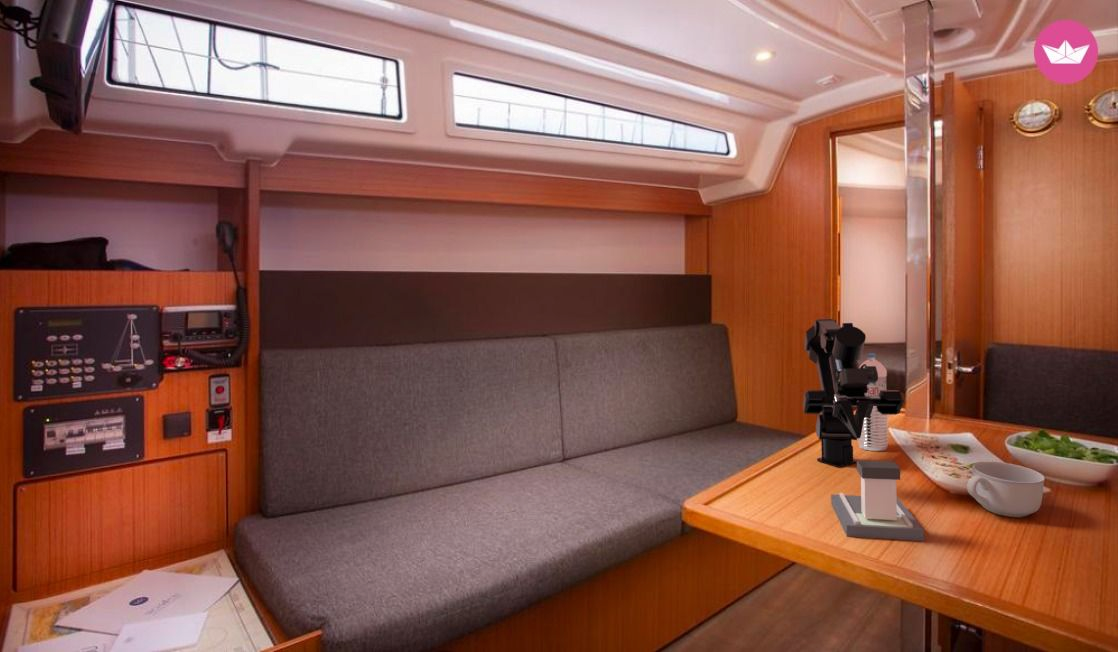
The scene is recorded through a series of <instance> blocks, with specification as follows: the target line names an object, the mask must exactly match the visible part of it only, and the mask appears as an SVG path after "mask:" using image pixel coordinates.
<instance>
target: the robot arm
mask: <svg viewBox="0 0 1118 652" xmlns="http://www.w3.org/2000/svg"><path fill="white" fill-rule="evenodd" d="M866 338H867V337H866V333H865V332H864V331H863V330H862V329H861V328H858V327H856V326H854V324H853V322H842V324H841V325H840V324H838V323H837V319H833V318H818V319H815V320H814V323H813V325H812V326H811V327H809V329H807V330H806V331H805V335H804V341H803V342H804V345H803V346H804V351H806V352H807V357H808V359H809V360H810V361H811V362H813V363H814V364H815V365H816V369H817V370H816V371H817V373H818V374H817V375H818V379H819V385H820V389H819V390H818V389H814V390H813V389H806V391H805V392H804V395H803V400H802V401H803V402H802V409H803V413H805V414H807V415H817V419H816V423H815V433H816V437H817V438H818V439H819V440H820V442H821V445H820V446H821V457H818V458H817V459H816V460H817V461H818V462H820V463H824V464H826V465H830V466H832V467H833V466H834V467H837V468H842V467H844V466H848V465H853V464H857V460H856V459H854V446H853V445H852V444H853V443H852V441H858V438H860V437H861V433H862V427H863V422H864V418H865V417H870V415H871V412H872V409H873V406H877V411H878V412H879V413H881V414H882V415H887V416H888V415H893V416H894V415H898V414H900V413H901V410H902V408H903V404H904V402H905V397H904V394H903V392H901V391H900V390H898V389H886V390H880V393H879V396H865V393H867V392H868V387H867V385H869V383H876V382H877V380H878V372H877V369H876V366H867V367H866V368H865V369H860V368H859V366H860V364H859V360H861V357H862V353H863V350H864V346H865V342H866ZM853 407H855V412H854V409H853Z"/></svg>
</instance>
